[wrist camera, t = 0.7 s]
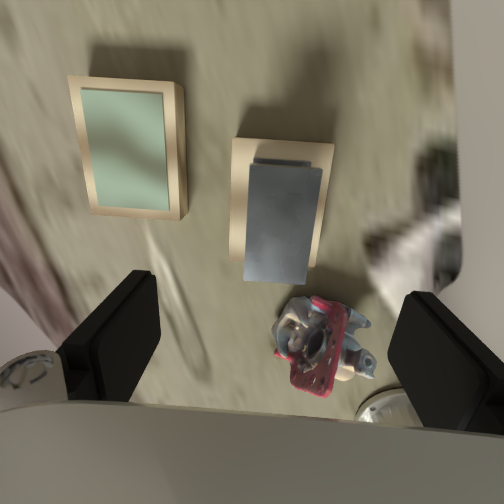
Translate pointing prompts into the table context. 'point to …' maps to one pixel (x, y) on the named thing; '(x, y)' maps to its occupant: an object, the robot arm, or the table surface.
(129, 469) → the robot arm
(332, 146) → the stand
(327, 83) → the table surface
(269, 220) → the block
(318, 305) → the motor mount assembly
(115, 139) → the stand
